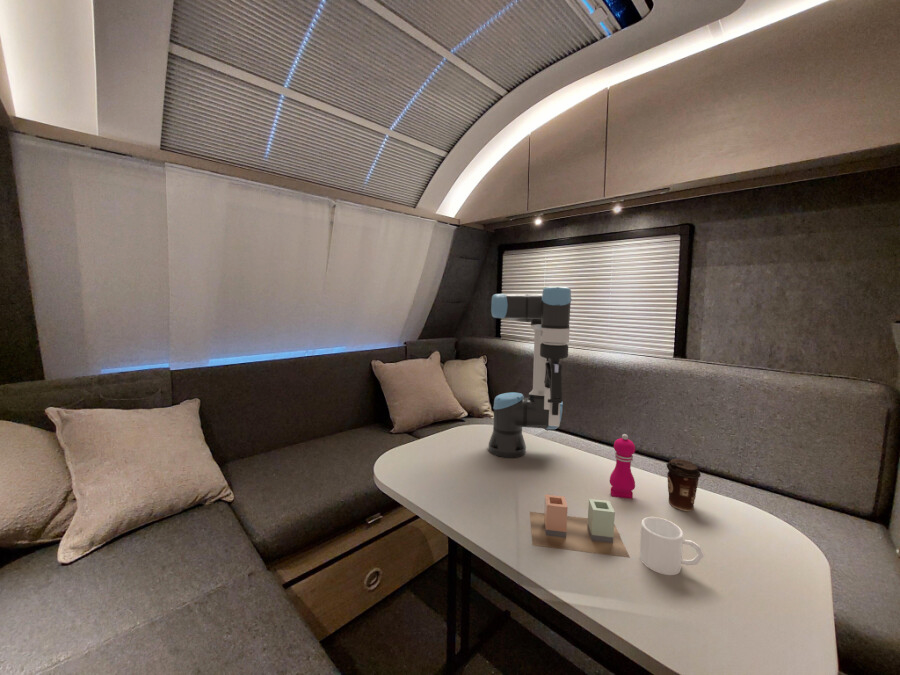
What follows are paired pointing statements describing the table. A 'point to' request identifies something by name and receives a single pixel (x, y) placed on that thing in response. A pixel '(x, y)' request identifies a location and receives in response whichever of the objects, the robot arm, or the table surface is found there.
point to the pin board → (575, 537)
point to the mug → (664, 546)
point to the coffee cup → (682, 483)
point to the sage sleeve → (601, 520)
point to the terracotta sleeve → (555, 516)
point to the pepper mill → (623, 469)
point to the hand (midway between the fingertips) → (551, 417)
